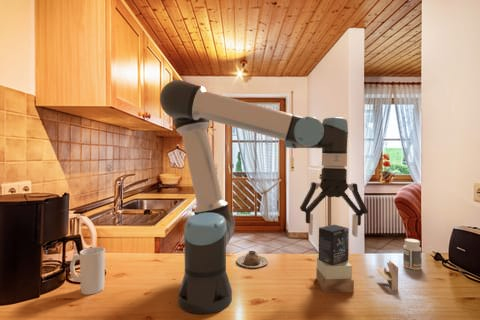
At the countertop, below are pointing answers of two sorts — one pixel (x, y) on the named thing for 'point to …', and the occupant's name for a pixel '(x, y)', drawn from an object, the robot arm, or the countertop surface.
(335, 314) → the countertop surface
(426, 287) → the countertop surface
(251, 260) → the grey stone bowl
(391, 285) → the architectural model
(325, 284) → the tower base
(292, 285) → the countertop surface
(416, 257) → the pill bottle
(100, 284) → the mug
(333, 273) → the tower top
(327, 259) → the box
